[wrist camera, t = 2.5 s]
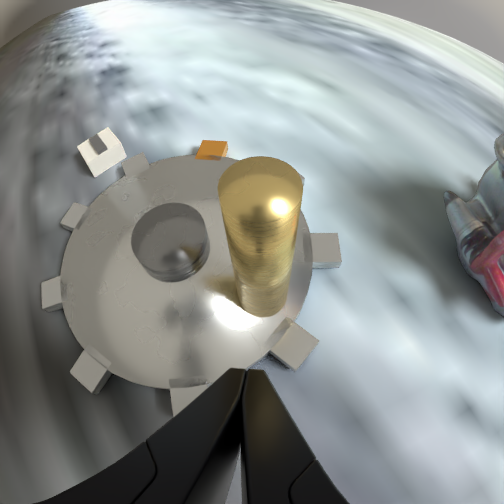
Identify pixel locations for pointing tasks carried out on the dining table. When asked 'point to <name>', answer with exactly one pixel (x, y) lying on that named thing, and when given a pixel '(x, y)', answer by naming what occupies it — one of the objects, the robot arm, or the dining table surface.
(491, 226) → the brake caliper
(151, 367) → the sprocket
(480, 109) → the dining table surface
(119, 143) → the block
